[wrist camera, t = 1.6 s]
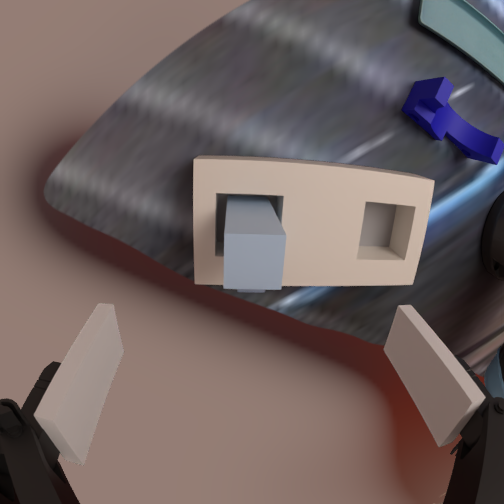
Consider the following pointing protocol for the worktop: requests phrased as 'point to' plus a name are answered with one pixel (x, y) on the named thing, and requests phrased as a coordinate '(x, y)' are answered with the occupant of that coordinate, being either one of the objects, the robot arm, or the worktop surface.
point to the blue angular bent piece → (449, 120)
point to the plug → (253, 245)
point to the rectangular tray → (466, 32)
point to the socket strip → (317, 218)
